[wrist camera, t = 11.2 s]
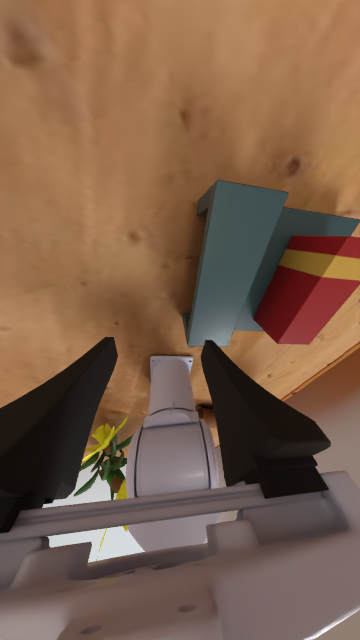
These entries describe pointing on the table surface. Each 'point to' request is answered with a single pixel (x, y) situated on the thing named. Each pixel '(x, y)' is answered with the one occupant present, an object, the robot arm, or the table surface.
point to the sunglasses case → (207, 416)
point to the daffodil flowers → (107, 462)
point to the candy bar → (309, 287)
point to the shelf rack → (245, 255)
